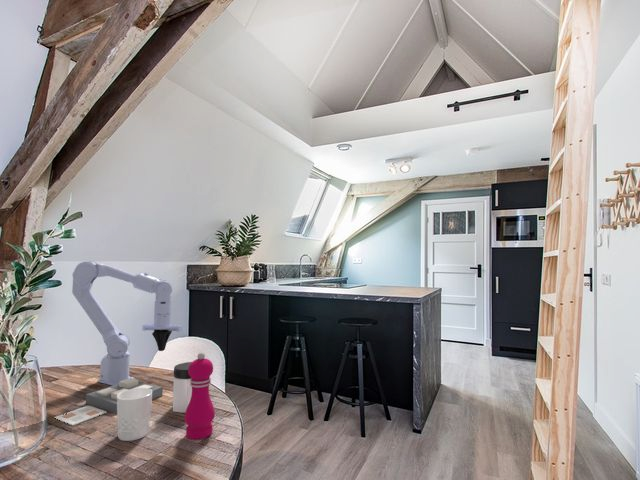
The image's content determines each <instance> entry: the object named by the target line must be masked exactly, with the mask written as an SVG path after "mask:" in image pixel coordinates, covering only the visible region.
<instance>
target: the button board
mask: <svg viewBox="0 0 640 480" xmlns="http://www.w3.org/2000/svg"><path fill="white" fill-rule="evenodd" d="M144 384H145V385H149V386H152V387H153V389H151V390H152V400H155V399H158V398H160V397H162V396H163V388H164V387H163V386H159V385H155V384H151V383H148V382H143V381H140V380H138V385H136V386H133V387H130V388H127V389H128V390H130V389H133V388H136V387H139V386H142V385H144ZM107 388H113V389H116V390H121V389H126V388H122V387H119V384H117V385H114V386H112V385H110V386H107V387H104V388H102V389H99V390H96V391H93V392H89V393H86V394H85V404H86V403H87V405H89V406H92V407H95V408H98V409H101V410H104V411H107V412H111V413H115V414H117V400H115V399H112V398H111V394H110V395H107V396H102V395H98V394H97V392H98V391H101V390H104V389H107Z"/></svg>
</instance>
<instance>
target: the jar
mask: <svg viewBox="0 0 640 480" xmlns="http://www.w3.org/2000/svg"><path fill="white" fill-rule="evenodd" d="M192 362H193V361H189V362H188V361H186V362H182V363H177V364H176V365H175V366H174V367H173V386H172V412H174V413H182V414H183V413H184V414H185V412H186V409H187V407H188V404H189V402H190V399H191V396H192V386H190V383H191V382H190V380H191V379H192V378H191V377H190V376H189V373H188V369H189V365H190V364H191V363H192Z"/></svg>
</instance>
